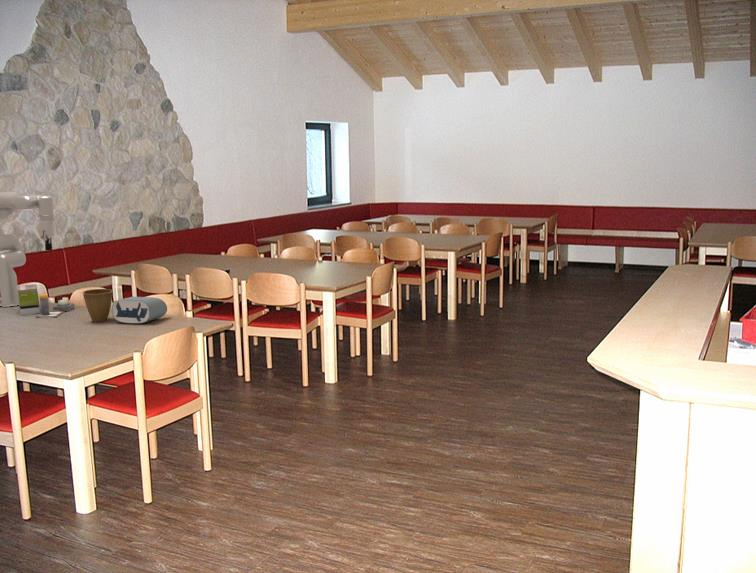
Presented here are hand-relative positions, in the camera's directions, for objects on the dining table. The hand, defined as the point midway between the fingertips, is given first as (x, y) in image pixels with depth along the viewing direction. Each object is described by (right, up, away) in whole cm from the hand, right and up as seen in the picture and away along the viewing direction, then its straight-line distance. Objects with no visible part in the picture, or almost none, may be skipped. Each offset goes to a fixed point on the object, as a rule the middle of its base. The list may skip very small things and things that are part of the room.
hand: (48, 250), depth 433 cm
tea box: (-10, -36, -1) cm, 37 cm away
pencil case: (+61, -39, -27) cm, 77 cm away
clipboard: (+5, -37, -10) cm, 38 cm away
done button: (+7, -33, +3) cm, 33 cm away
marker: (+4, -36, -12) cm, 38 cm away
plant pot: (+39, -39, -26) cm, 61 cm away
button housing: (+7, -34, +3) cm, 35 cm away
